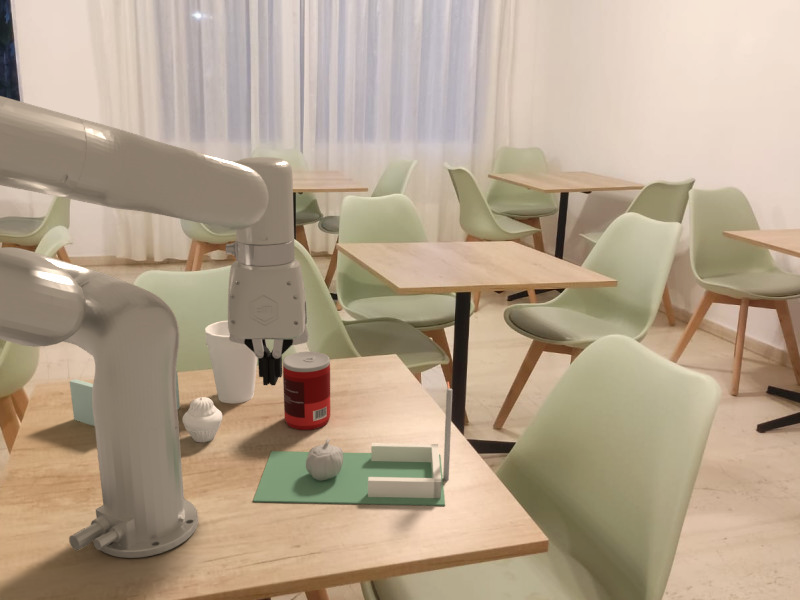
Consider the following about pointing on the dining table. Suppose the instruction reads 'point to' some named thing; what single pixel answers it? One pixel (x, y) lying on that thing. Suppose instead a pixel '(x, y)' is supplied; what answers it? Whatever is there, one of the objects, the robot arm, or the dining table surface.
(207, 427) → the muffin
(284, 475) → the felt mat
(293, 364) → the canned food
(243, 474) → the dining table surface
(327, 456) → the garlic
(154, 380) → the robot arm
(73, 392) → the right angle wall
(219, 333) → the foam cup
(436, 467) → the white u-shaped frame
